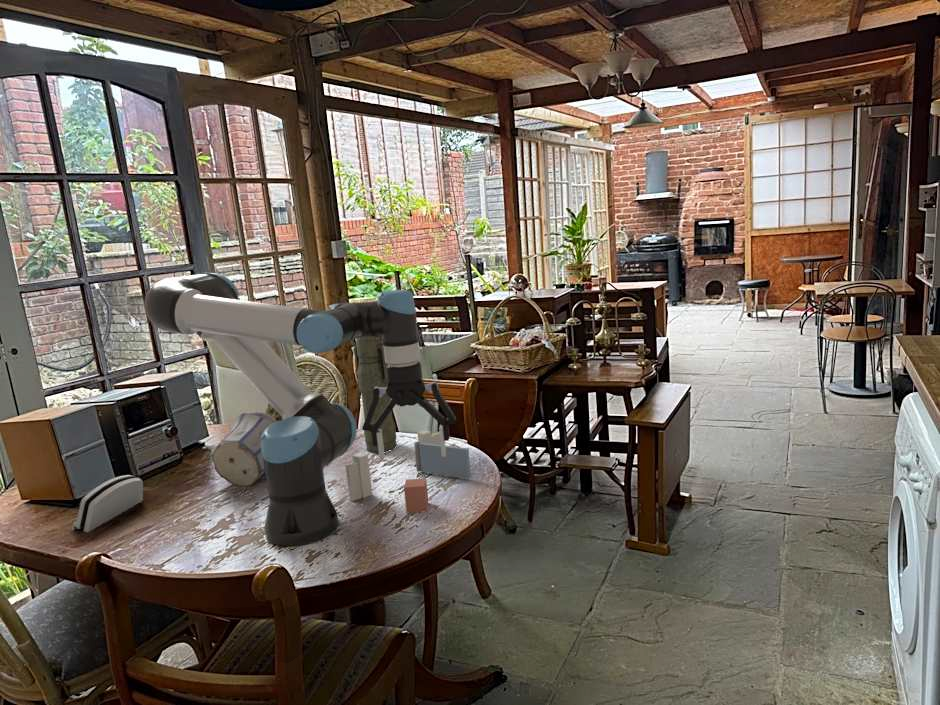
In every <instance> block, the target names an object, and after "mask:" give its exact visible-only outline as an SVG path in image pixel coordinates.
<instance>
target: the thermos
mask: <svg viewBox="0 0 940 705" xmlns="http://www.w3.org/2000/svg"><path fill="white" fill-rule="evenodd" d="M353 354H354V361H355V363H354V364H355V369H356V375H357V380H358V382H357V383H358V388H359V392H360V394H361V399H362V407H363V408H362V410H363V418H364V420H365V419H366V417H367V414H368V411H369V409H370V406H371V403H372V401H373V390H374V388H375V387H376V386H380V387H387V385H388V383H387V374H386V366H387V365H388V364H387V363H385V357H384V348H383V339H382V336H379V337H360V338H356V339H355V345H354V347H353ZM390 401H391V398H390V397H389V396H388V395H387V393H384V395H383V397H381V398H380V399H379V402H378V405H377V407H376V410H375V413H374V415H373V418H372V420H371V423H370V424H373V425H374V423H375V422H376V421H377V419H378V418H379V416H380V415H381V414H382V412H383V411H384V409H385V408H386V407H387V405H388V404H389V402H390ZM378 429H382V436H383V445H384V452H385V453H387V452H386V451H389V450H392V449H394V448H395V447H396V446H397V447H398V445H397V444H398V443H397V432H396V423H395V421H394V419H393V409H392V410H391V412H390V413H389V414H388V416H387V417H386V419H385V420H384V421H383V423H382V424H381V426H380V427H379V428H378ZM363 434H364V442H365V444H366V451H367V452H368V453H371V454H379V451H378V446H374V445H373V440H372V433H371V432H370V431H367V430H366V431H364V430H363ZM397 447H396V448H397ZM394 450H395V449H394ZM392 451H393V450H392ZM389 452H390V451H389Z"/></svg>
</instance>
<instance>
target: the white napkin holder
mask: <svg viewBox="0 0 940 705" xmlns="http://www.w3.org/2000/svg"><path fill="white" fill-rule="evenodd" d="M143 482H144V481H143V479H141V478H140V477H136V476H134V475H131V474H126V475H124V474H123V475H120V476H115V477H113V478H111V479H109V480H107V481H104V482H102V483H101V484H100V485H98V486H97V487H95V488H94V489H92V490H91V491H90V492H88V493H87V494H86V495H85V496H84V497H82V499H81V501H80V504H79V509H78V513H77V517H76V518H77V519H76V521H75V522H73V523H72V528H71V531H76V530H77V529H78V530H80V529H82V528H83V532H84V533H90V532H91V531H93V530H95V529H96V527H97V528H99V527H101V526H102V525H104V524H106V523H107V522H109V521H111V520H113V519H115V518H116V517H118V516H119V514H120V515H122V514H123V513H122V512H124V511H125V512H127V511H128V510H127V509H129V508H131V507H132V508H134V507H135V506H134V505H136V504H138V503H140V502H141V501H144V500H143V499H144V497H143V496H144V490H143V488H144V483H143ZM141 503H142V502H141ZM141 503H140V504H141ZM138 505H139V504H138ZM133 506H134V507H133ZM136 506H137V505H136ZM132 508H131V509H132ZM126 510H127V511H126ZM129 510H130V509H129ZM125 512H124V513H125ZM121 513H122V514H121ZM117 515H118V516H117ZM115 516H116V517H115ZM114 517H115V518H114ZM112 518H113V519H112ZM110 519H111V520H110ZM108 520H109V521H108ZM106 521H107V522H106ZM105 522H106V523H105ZM103 523H104V524H103ZM101 524H102V525H101ZM98 526H99V527H98ZM94 528H95V529H94ZM75 529H76V530H75Z"/></svg>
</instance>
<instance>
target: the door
mask: <svg viewBox="0 0 940 705" xmlns="http://www.w3.org/2000/svg"><path fill="white" fill-rule="evenodd" d="M413 446H414V456H415V467H416V473H419V472H421V473H428V474H433V475H439V476H445V477H446V476H447V477H453V478H458V479H459V478H460V479H465V480H470V479H472V472H471V461H470V460H471V459H470V449H469V447H462V446H461V447H460V446H451V445H446V444H445V448H446V456H445V457H442V452H441V445H438V444H430V443H422V442H421V443H420V442H418V441H414V442H413Z"/></svg>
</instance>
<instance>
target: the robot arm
mask: <svg viewBox="0 0 940 705" xmlns="http://www.w3.org/2000/svg"><path fill="white" fill-rule="evenodd" d="M239 295H240V293H239V290H238V288H237V286H236V285H235V284H234V282H233V281H232V280H230V279H229V278H228V277H226V276H225V275H222V274H221V273H216V272H198V273H195V274H194V273H193V274H192V275H191V274H190V275H183V276H178V277H177V276H176V277H169V278H168V277H167V278H164V279H162V280H159V281H157V282H156V283H154V284H153V285H152V286H151V287H150V288H149V289H148V291H147V293H146V295H145V298H144V304H143V305H144V312H145V314H146V317H147V319H148V320H149V321H150V323H152V325H153V326H155V327H156V328H157V329H160V330H161V331H163V332H167V333H174V334H182V335H187V336H188V335H189V336H190V335H195V334H197V335H198V336H199V338H200V339H201V340H202V341H204V342H213V343H214V344H215V346H217V347H218V349H219V350H220V351H222V353H223V354H224V355H225V356H226V358H228V360H230V362H231V363H232V364H233V365H234V366H235V367H236V368H237V370H239V371H240V372H241V374H242V375H243V376H244V378H246V380H248V382H249V383H250V384H251V385H252V386H253V387H254V388H255V389H256V390H257V391H258V393H259V394H260V395H261V396H262V397H263V398H264V399H265V401H267V403H269V404H270V405H271V406H272V407H273V408H274V409H275V410H276V411H277V412H278V413H279V414H280V416H281V417H282V419H283V421H277V422H275V423H273V424H271V425H270V426H269V427H267V428H266V429H265V430H264V432H263V433H262V436H261V446H262V447H261V454H262V457H263V461H264V468H265V473H264V475H265V479H266V480H265V481H266V486H267V493H268V498H269V500H268V508H267V513H266V518H265V522H264V523H265V524H264V530H265V531H264V532H265V538H266V540H267V541H268V542H269V543H271V544H273V545H276V546H280V547H281V546H282V547H295V546H303V545H307V544H312V543H314V542H317V541H319V540H322V539H324V538H327V537H328V536H330V535H331V534H332V533H334V532H335V531H336V530H337V528H338V527H339V516H338V512H337V509H336V508H335V505H334V503H333V502H332V500H331V498H330V496H329V494H328V492H327V489H326V481H325V475H324V468H326V467H327V466H328V465H329V464H331V463H332V462H333V461H335V460H336V459H337V458H339V457H341V456H343V455H344V454H345V453H346V452H348V450H349V448H350V447H352V445H353V444H354V442H355V440H356V437H357V422H356V420H355V419H356V418H355V416H354V415H353V413H352V411H351V410H349V408H347V407H346V406H345V405H343V404H340V403H336V402H330V401H329V400H328V399H327V398H326V397H325V395H323V393H320V392H312V391H311V390H310V389H309V388H308V387H307V386H306V384H304V383H303V382H302V380H301V379H300V378H299V377H298V375H296V374H295V373H294V371H293V370H291V367H289V366H288V365H287V364H286V363H285V361H283V359H282V358H281V357H280V356H279V355H278V354H277V353H276V352H275V350H274V349H273V348H271V346H270V345H269V344H268V342H271V343H272V342H273V343H279V344H285V345H286V344H287V345H293V346H294V345H295V346H300V347H301V348H302V349H304V350H305V351H307V352H308V353H311V354H315V355H316V354H323V353H328V352H331V351H333V350H334V349H336V348H338V347H340V346H343V345H345V344H347V343H350V342H351V341H354V340H356V338H360V337H379V336H382V339H383V348H384V357H385V363H387V364H388V365H387V366H386V374H387V383H388V385H387V387H380V386H376V387H375V388H374V390H373V401H372V403H371V406H370V409H369V411H368V414H367V417H366V419H364V421H363V425H362V429H361V430H362V431H363V432H364V431H366V430H367V431H370V432H371V433H372V440H373V445H374V446H378V451H379V453H378V455H379V462H382V463H383V462H384V461H385V458H386V456H385V453H384V445H383V436H382V429H378V428H379V427H380V426H381V424H382V423H383V421H384V420H385V419H386V417H387V416H388V414H389V413H390V412H391V410H392V411H393V409H394V407H395V406H396V405H397V406H399V407H405V406H415V405H416V404H417V405H419V406H420V407H421V408H423V409H424V410H425V411H426V412H427V413H428V414H429V415H430V416H431V417H432V418H433V419H434V420H435V421H436V422H437V423H439V427H438V432H440V442H441V452H442V457H445V456H446V448H445V445H446V442H447V441H450V429H449V426H451V425H454V424H456V422H457V416H456V415H455V413H454V411H453V410H452V409H451V407H450V406H449V404H448V402H447V401H446V399H445V398H444V396H443V395H442V393H441V391H440V388H439V384H438V381H436V380H434V381H432V382H430V383H425V382H424V381H423V380H424V379H423V372H422V371H423V370H422V363H421V362H420V360H421V353H420V344H419V343H420V342H419V337H418V334H419V333H418V323H417V309H416V304H415V300H414V299H415V298H414V294H413V292H412V291H410V290H408V289H395V290H393V289H392V290H386V291H385V290H384V291H380V292H379V293H378V295H377V300H376V301H365V302H364V301H363V302H362V301H361V302H359V301H357V302H356V301H355V302H348V301H347V302H346V301H345V302H344V301H343V302H339V303H332V304H331V305H329V306H328V308H327V310H321V309H320V310H319V309H312V308H303V307H299V306H298V307H296V306H289V305H281V304H280V305H279V304H273V303H266V302H257V301H251V300H242V299H240V298H239ZM426 390H427V391H428V393H429V394H432V395H433V397H434V399H435V401H436V402H437V403H438V405H439V406H440V408H441V410H442V411H443V413H444V414H445V416H444V415H443V414H442V412H440V411H439V410H438V409H437V408H436V407H435V406H434V405H433V404H432V403H431V402H430V401H428V399H427V398H426V397H425V396H424V393H425V392H426ZM384 393H387V395H388V396H389V397H390V400H391V401H390V402H389V404H388V405H387V407H386V408H385V409H384V411H383V412H382V414H381V415H380V416H379V418H378V419H377V421H376V422H375V423H374V425H373V424H370V423H371V420H372V418H373V415H374V413H375V410H376V407H377V405H378V402H379V399H380V398H381V397H383V395H384Z"/></svg>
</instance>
